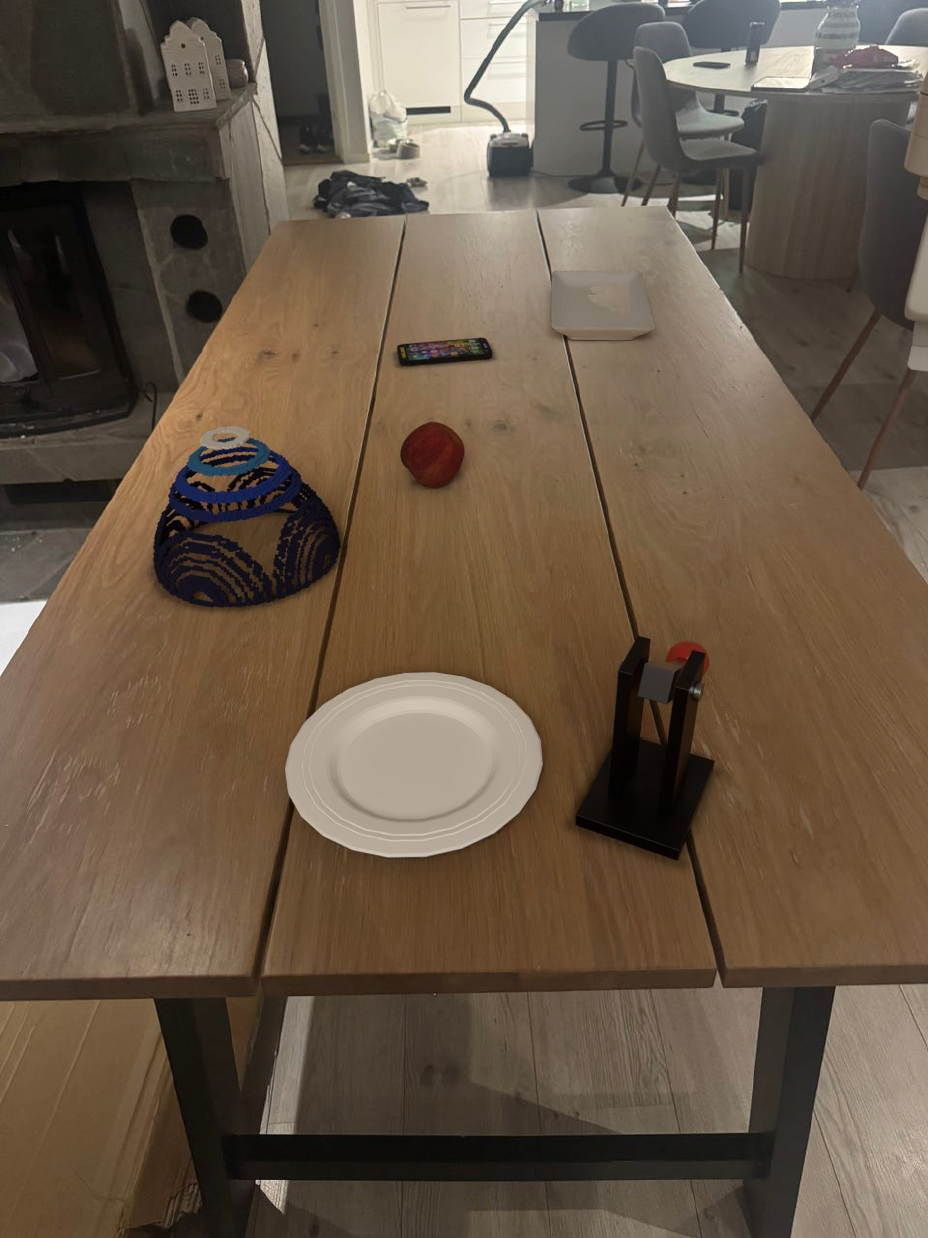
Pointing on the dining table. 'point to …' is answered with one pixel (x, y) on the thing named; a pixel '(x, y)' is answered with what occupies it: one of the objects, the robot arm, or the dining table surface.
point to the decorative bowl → (262, 489)
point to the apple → (433, 454)
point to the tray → (591, 320)
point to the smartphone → (444, 351)
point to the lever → (667, 672)
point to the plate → (414, 765)
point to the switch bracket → (650, 765)
